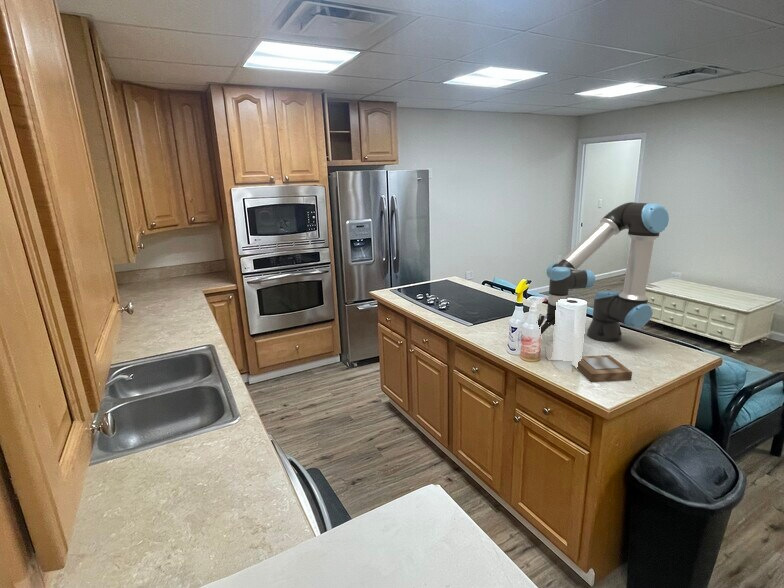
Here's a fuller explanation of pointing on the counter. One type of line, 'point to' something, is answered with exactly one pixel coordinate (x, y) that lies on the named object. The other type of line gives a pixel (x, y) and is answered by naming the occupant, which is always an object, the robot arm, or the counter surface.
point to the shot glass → (549, 349)
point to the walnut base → (603, 369)
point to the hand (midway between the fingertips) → (552, 350)
